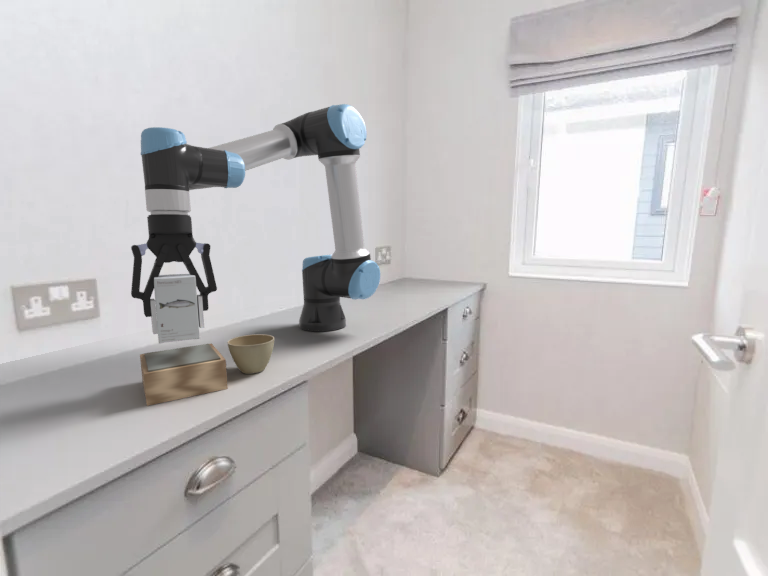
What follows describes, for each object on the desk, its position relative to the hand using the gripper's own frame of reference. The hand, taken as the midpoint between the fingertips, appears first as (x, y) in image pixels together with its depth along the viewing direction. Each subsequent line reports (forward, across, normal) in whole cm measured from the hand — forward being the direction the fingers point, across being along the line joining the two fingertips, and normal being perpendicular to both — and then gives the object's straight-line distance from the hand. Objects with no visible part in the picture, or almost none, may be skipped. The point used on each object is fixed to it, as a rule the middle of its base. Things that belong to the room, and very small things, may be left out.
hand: (178, 329), depth 81 cm
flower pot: (+12, -14, -1) cm, 19 cm away
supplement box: (+2, 0, 0) cm, 2 cm away
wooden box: (+12, 0, 0) cm, 12 cm away
